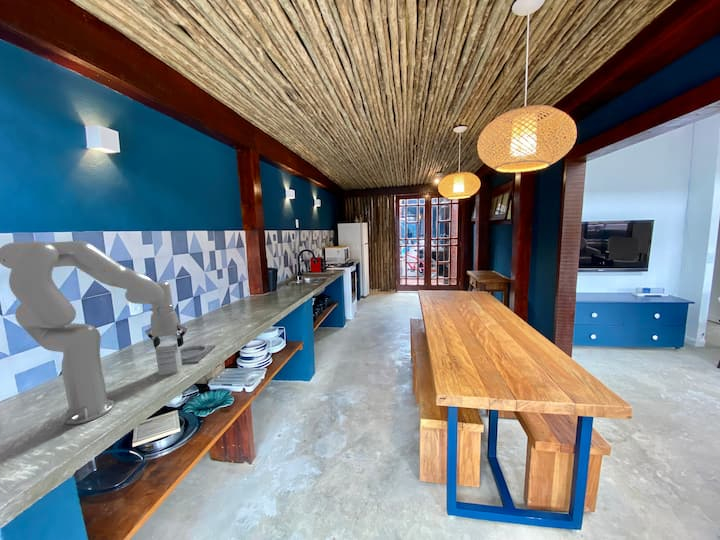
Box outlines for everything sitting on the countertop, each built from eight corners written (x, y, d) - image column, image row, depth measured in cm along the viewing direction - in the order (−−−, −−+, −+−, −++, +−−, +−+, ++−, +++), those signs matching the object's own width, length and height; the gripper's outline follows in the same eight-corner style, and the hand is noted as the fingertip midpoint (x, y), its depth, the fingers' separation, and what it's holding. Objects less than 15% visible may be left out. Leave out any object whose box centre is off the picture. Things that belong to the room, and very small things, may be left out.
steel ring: (199, 359, 137) (199, 356, 137) (165, 361, 135) (165, 358, 135) (212, 346, 152) (212, 343, 152) (182, 348, 151) (182, 346, 150)
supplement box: (164, 368, 130) (160, 342, 129) (182, 365, 132) (179, 339, 131) (158, 376, 123) (154, 348, 122) (177, 373, 125) (174, 345, 124)
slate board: (198, 363, 135) (197, 361, 134) (162, 365, 133) (162, 363, 133) (215, 346, 154) (215, 344, 154) (184, 349, 153) (184, 347, 153)
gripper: (136, 313, 120) (143, 352, 123) (179, 310, 122) (185, 348, 124) (147, 308, 127) (154, 345, 130) (188, 305, 129) (193, 341, 132)
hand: (169, 346), depth 127 cm, fingers open, 9 cm apart
